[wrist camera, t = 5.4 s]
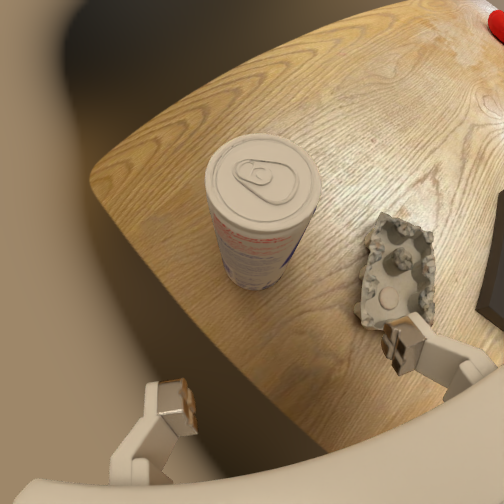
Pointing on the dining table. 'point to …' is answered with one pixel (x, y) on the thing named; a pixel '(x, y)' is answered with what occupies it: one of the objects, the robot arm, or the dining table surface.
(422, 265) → the egg carton
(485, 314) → the scale
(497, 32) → the tomato
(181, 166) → the dining table surface
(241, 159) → the beverage can
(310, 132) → the dining table surface
